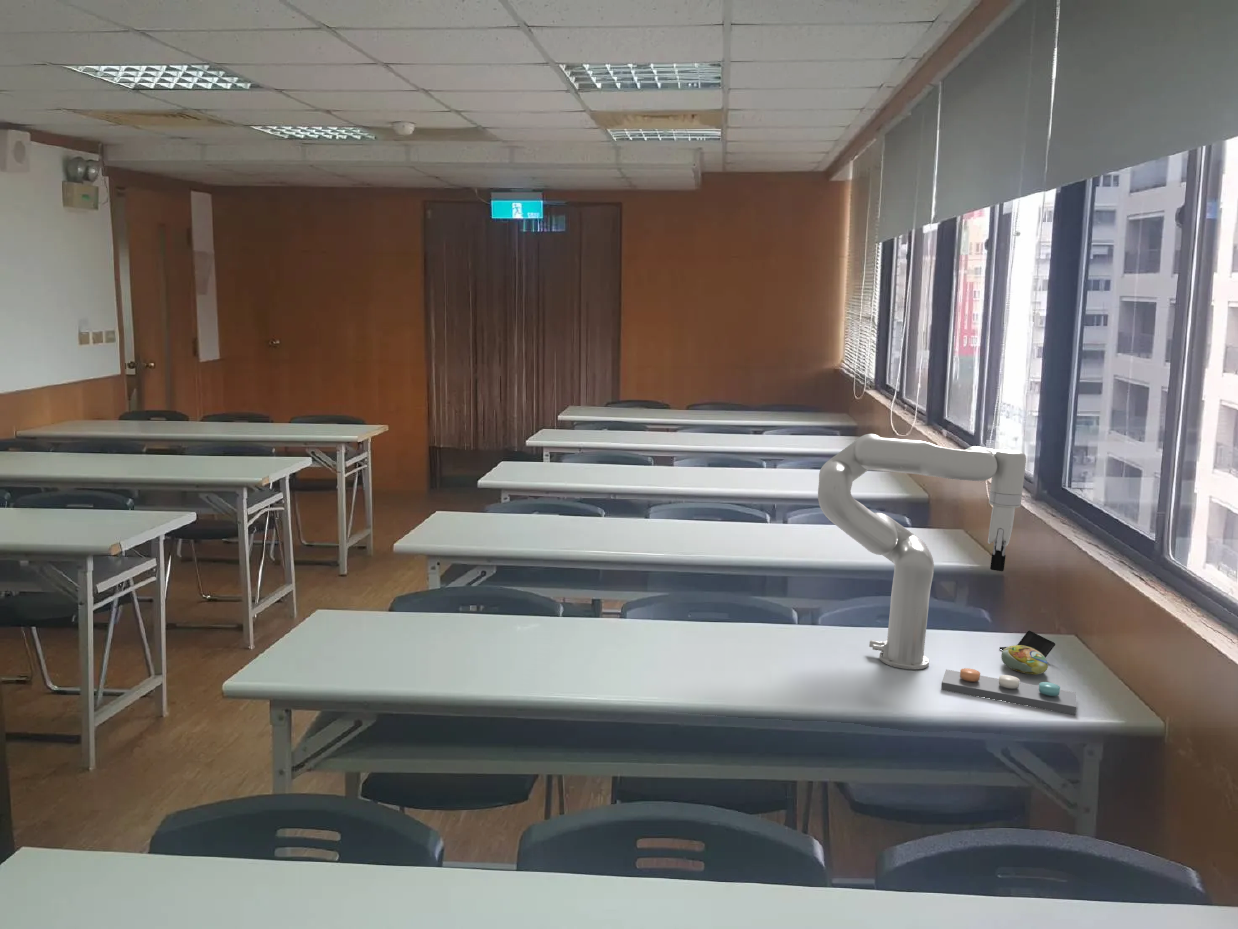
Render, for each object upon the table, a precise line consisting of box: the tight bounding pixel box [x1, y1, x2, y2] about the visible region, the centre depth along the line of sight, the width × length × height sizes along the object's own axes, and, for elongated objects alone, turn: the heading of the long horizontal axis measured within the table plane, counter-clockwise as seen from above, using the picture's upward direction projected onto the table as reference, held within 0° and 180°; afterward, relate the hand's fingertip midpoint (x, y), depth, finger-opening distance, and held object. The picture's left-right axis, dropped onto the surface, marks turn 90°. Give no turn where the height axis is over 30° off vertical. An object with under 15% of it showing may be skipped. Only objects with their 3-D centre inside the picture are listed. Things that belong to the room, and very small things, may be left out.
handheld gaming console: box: [999, 630, 1056, 659], centre depth 274 cm, size 12×7×10 cm
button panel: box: [940, 668, 1077, 716], centre depth 245 cm, size 30×10×2 cm, turn 67°
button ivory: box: [998, 674, 1021, 689], centre depth 245 cm, size 5×5×2 cm
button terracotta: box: [959, 667, 981, 681], centre depth 248 cm, size 5×5×2 cm
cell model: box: [1000, 644, 1049, 676], centre depth 263 cm, size 11×8×15 cm
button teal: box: [1038, 681, 1061, 696], centre depth 241 cm, size 5×5×2 cm
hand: (997, 569), depth 257 cm, fingers closed
